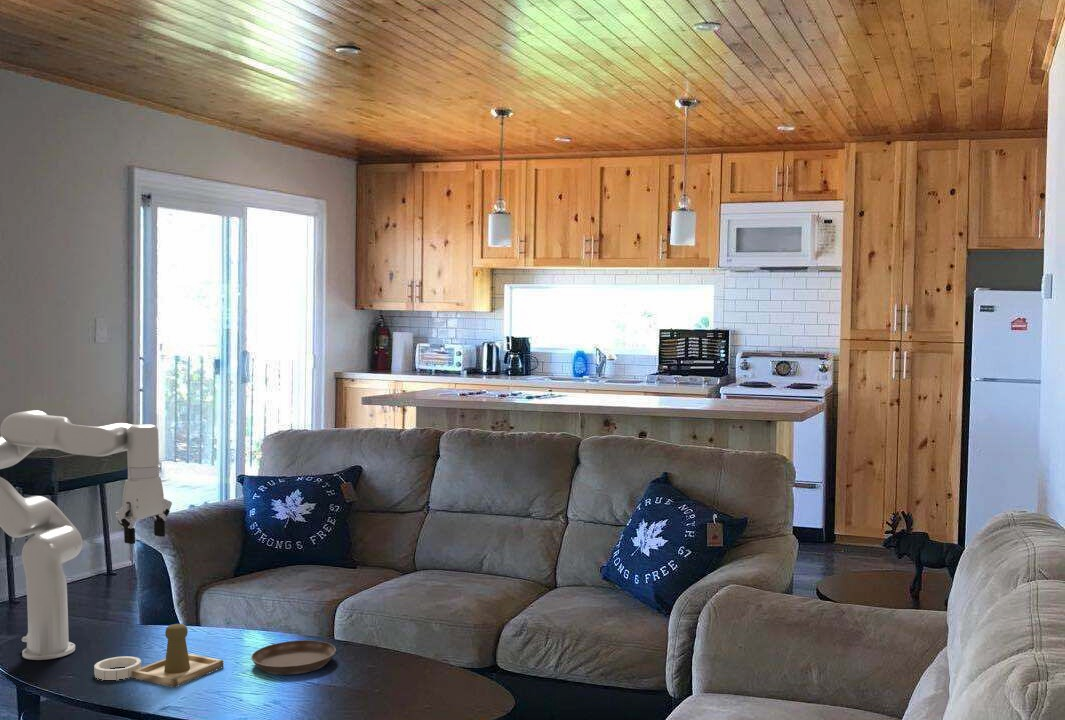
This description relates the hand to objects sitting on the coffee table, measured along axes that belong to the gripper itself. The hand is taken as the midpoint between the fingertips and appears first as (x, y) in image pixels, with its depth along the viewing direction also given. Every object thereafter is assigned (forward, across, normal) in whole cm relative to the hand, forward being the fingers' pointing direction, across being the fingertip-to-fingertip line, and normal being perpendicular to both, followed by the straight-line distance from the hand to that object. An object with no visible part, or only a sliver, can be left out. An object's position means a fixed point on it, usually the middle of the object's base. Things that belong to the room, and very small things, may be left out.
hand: (145, 539), depth 278 cm
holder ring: (+30, +13, +4) cm, 33 cm away
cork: (+30, +6, +17) cm, 34 cm away
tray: (+30, +6, +17) cm, 35 cm away
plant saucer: (+31, -12, +38) cm, 50 cm away
